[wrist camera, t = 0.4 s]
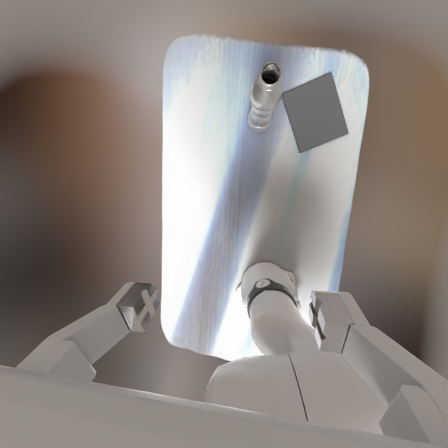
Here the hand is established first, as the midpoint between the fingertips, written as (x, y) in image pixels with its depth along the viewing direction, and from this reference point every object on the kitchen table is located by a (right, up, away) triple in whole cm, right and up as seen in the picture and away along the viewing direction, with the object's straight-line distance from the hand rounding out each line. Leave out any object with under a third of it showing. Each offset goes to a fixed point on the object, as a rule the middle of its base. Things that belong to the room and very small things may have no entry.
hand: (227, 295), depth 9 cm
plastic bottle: (+10, +32, +41) cm, 53 cm away
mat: (+24, +33, +39) cm, 57 cm away
